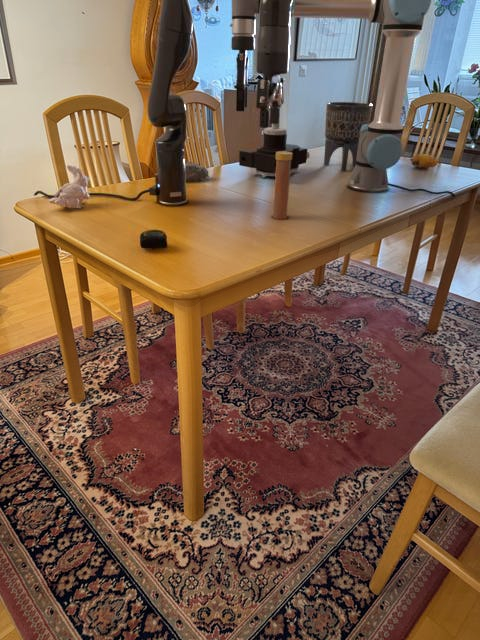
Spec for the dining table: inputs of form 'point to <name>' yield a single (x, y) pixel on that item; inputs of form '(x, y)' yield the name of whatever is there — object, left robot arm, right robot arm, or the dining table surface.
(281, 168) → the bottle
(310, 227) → the dining table surface
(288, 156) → the lid
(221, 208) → the dining table surface
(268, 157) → the mechanical component
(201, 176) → the rock
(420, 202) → the dining table surface
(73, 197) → the figurine
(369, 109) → the planter
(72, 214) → the dining table surface
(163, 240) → the tape measure
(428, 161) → the toy
